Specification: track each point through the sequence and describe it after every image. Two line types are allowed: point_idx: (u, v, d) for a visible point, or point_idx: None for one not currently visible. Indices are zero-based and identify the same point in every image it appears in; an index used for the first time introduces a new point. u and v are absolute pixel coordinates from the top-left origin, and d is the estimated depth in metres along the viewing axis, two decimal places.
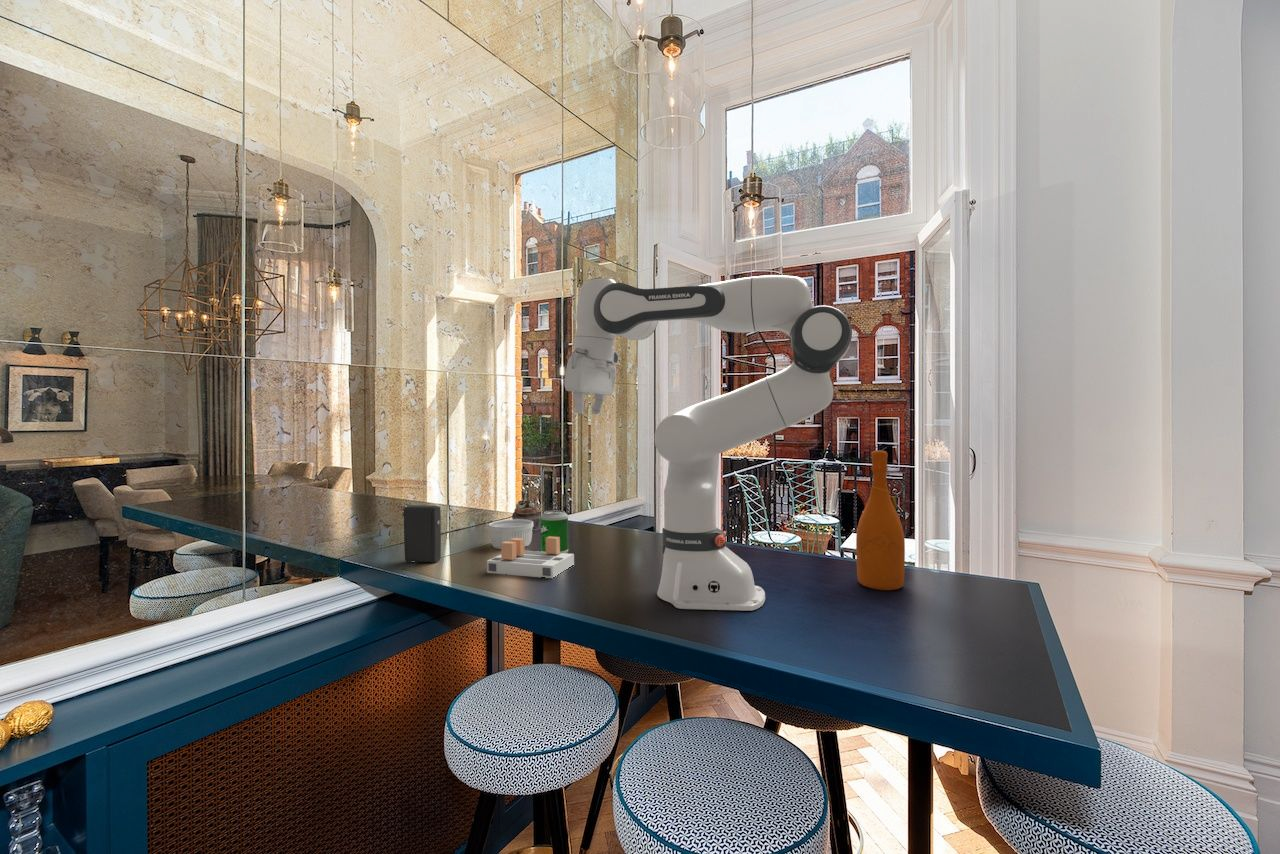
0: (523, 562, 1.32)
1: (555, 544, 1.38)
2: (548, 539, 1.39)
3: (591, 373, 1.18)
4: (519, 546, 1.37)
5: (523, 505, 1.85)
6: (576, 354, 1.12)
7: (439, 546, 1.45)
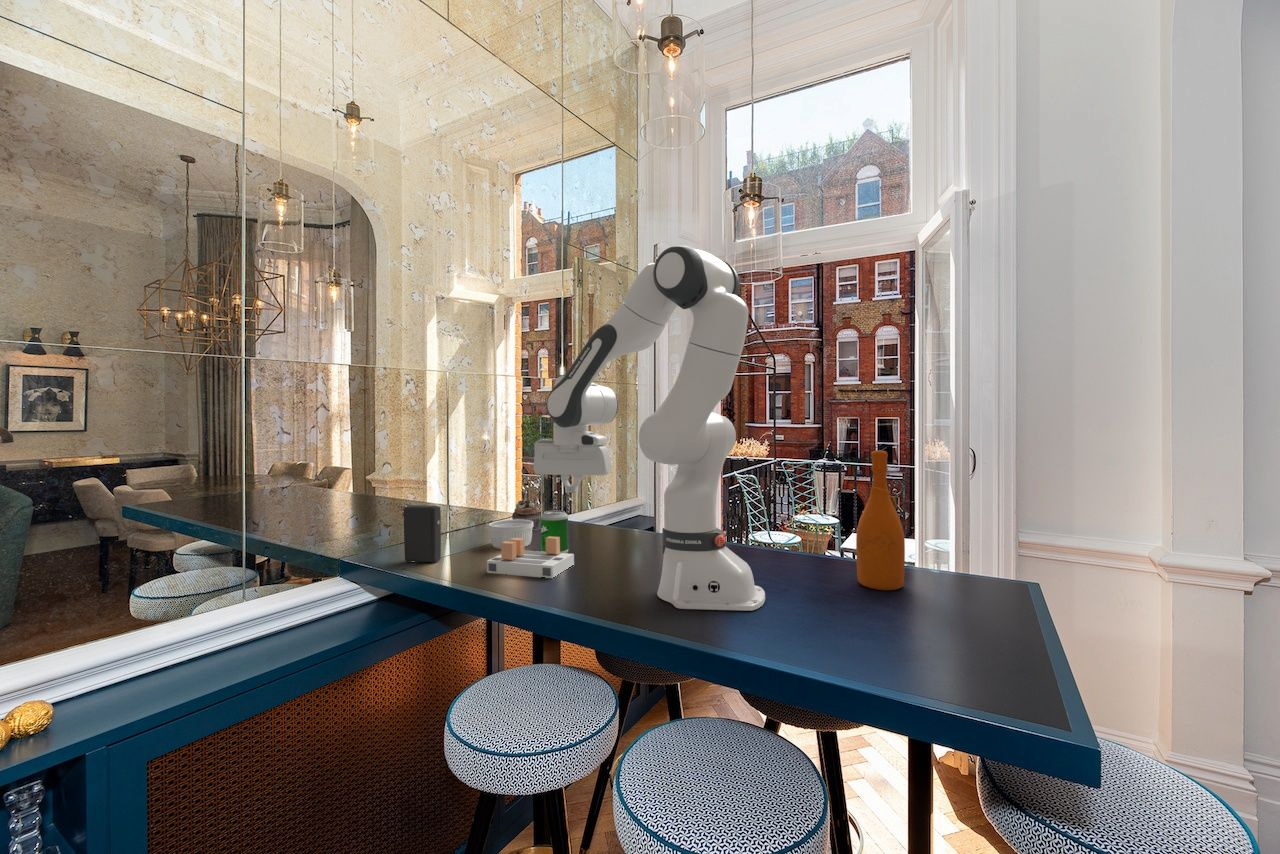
0: (523, 562, 1.32)
1: (555, 544, 1.38)
2: (548, 539, 1.39)
3: (555, 457, 1.37)
4: (519, 546, 1.37)
5: (523, 505, 1.85)
6: (536, 444, 1.40)
7: (439, 546, 1.45)
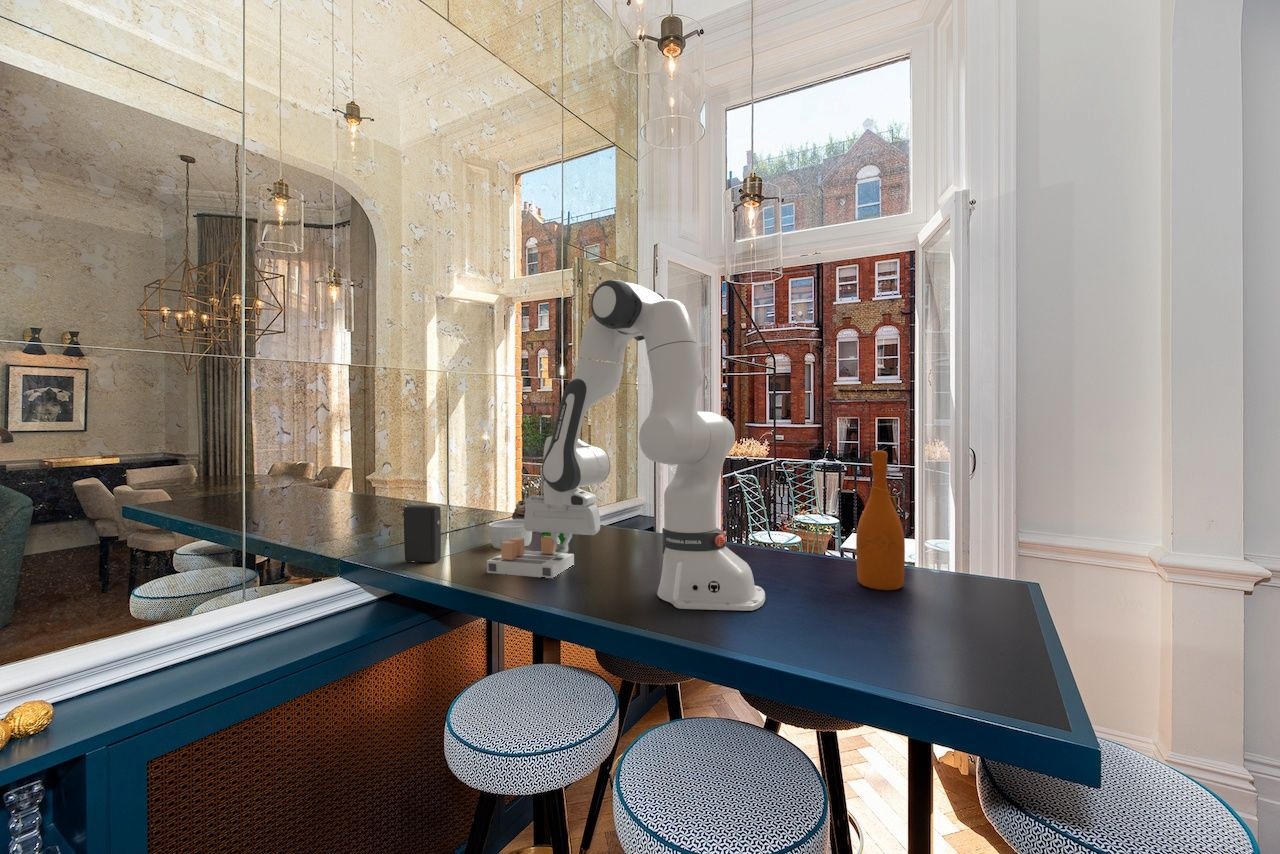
0: (523, 562, 1.32)
1: (550, 544, 1.38)
2: (543, 539, 1.39)
3: (546, 515, 1.38)
4: (519, 546, 1.37)
5: (523, 505, 1.85)
6: (527, 501, 1.41)
7: (439, 546, 1.45)
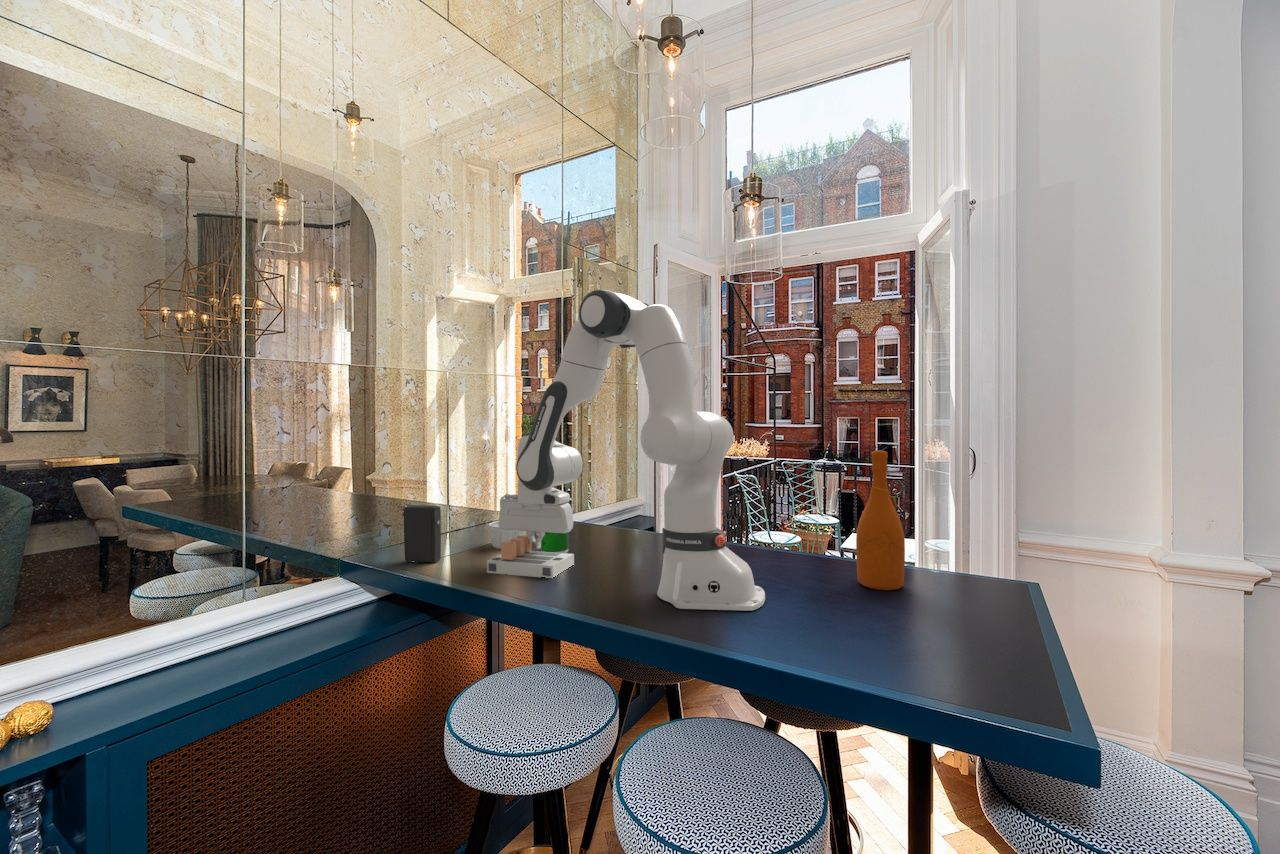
0: (523, 562, 1.32)
1: (526, 542, 1.41)
2: (519, 537, 1.41)
3: (520, 514, 1.41)
4: (519, 546, 1.37)
5: None
6: (502, 500, 1.43)
7: (439, 546, 1.45)
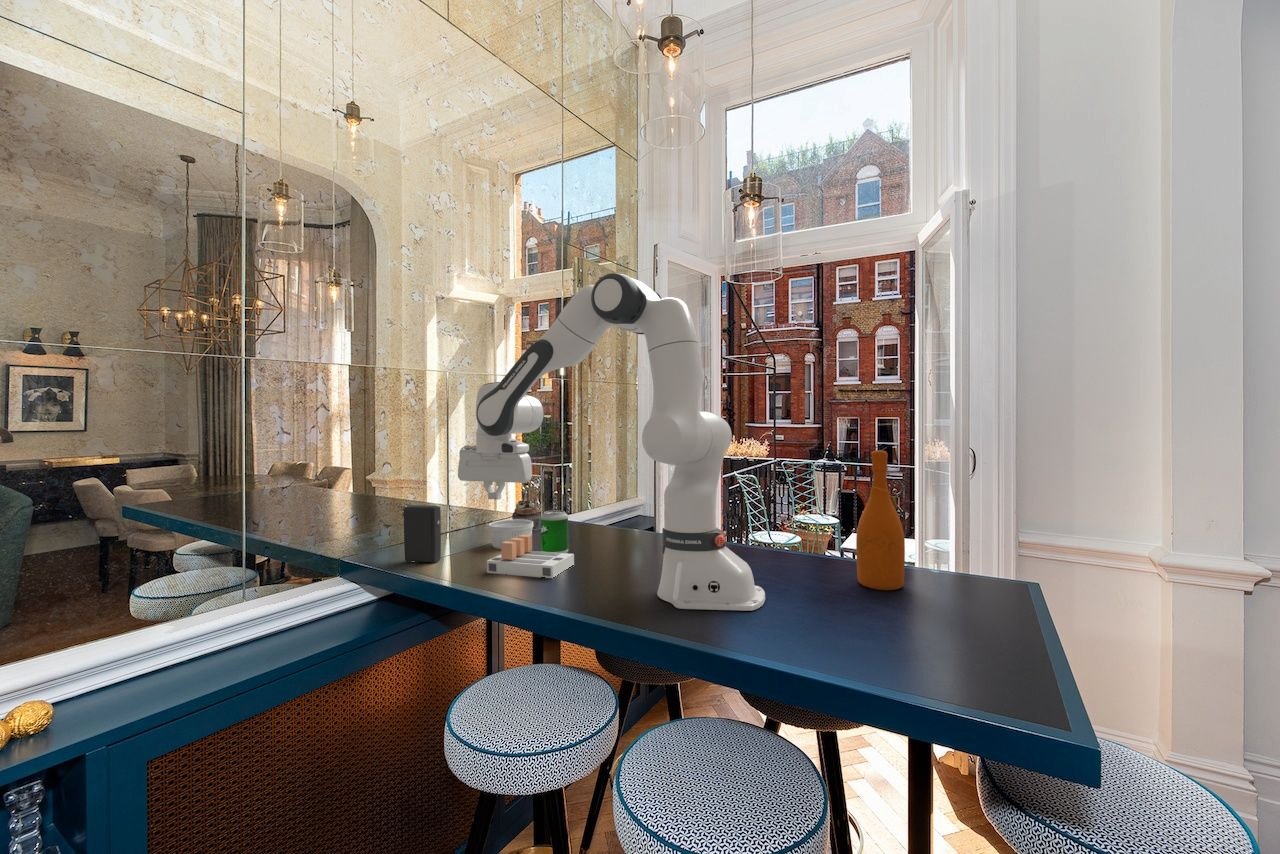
0: (523, 562, 1.32)
1: (527, 542, 1.40)
2: (520, 537, 1.41)
3: (478, 464, 1.40)
4: (519, 546, 1.37)
5: (523, 505, 1.85)
6: (461, 451, 1.42)
7: (439, 546, 1.45)
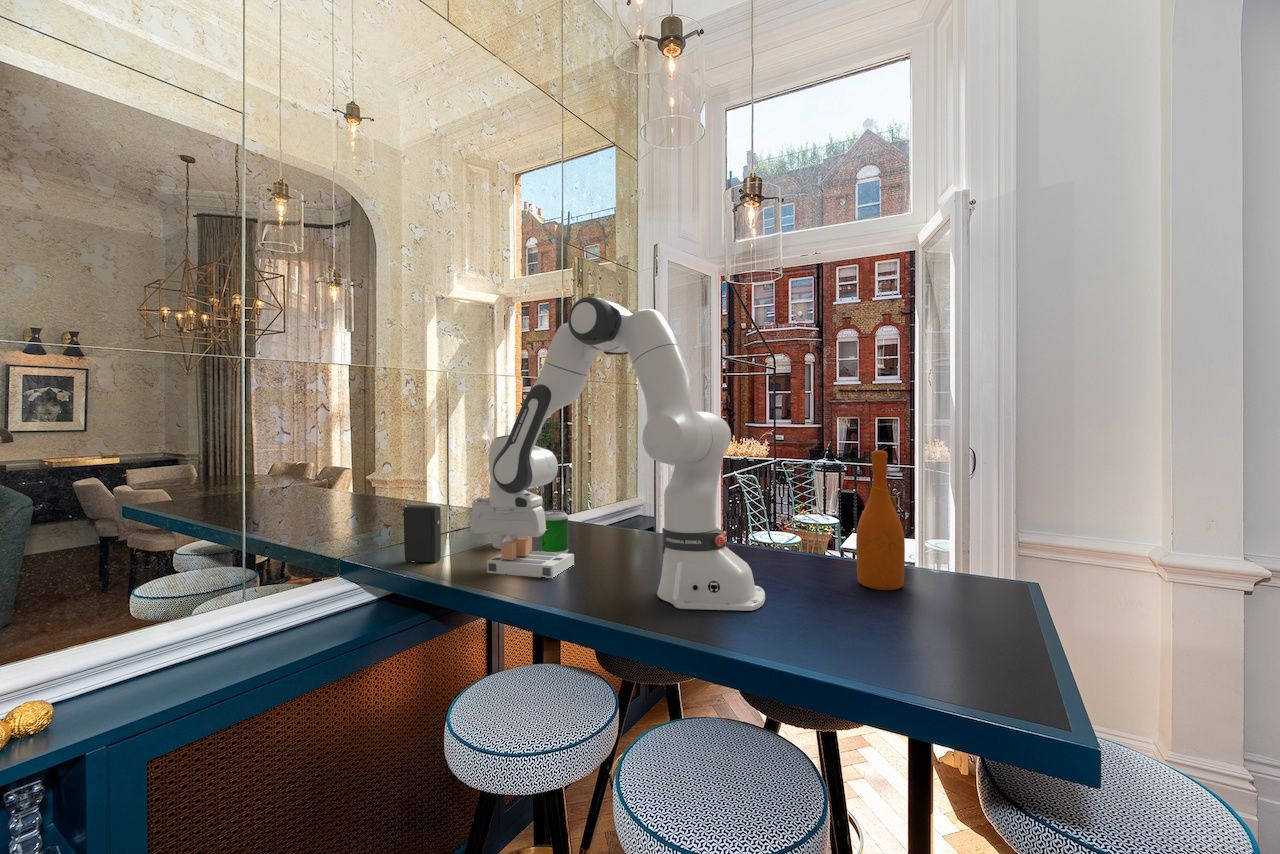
0: (523, 562, 1.32)
1: None
2: (520, 537, 1.41)
3: (492, 518, 1.38)
4: (524, 546, 1.36)
5: None
6: (474, 503, 1.41)
7: (439, 546, 1.45)
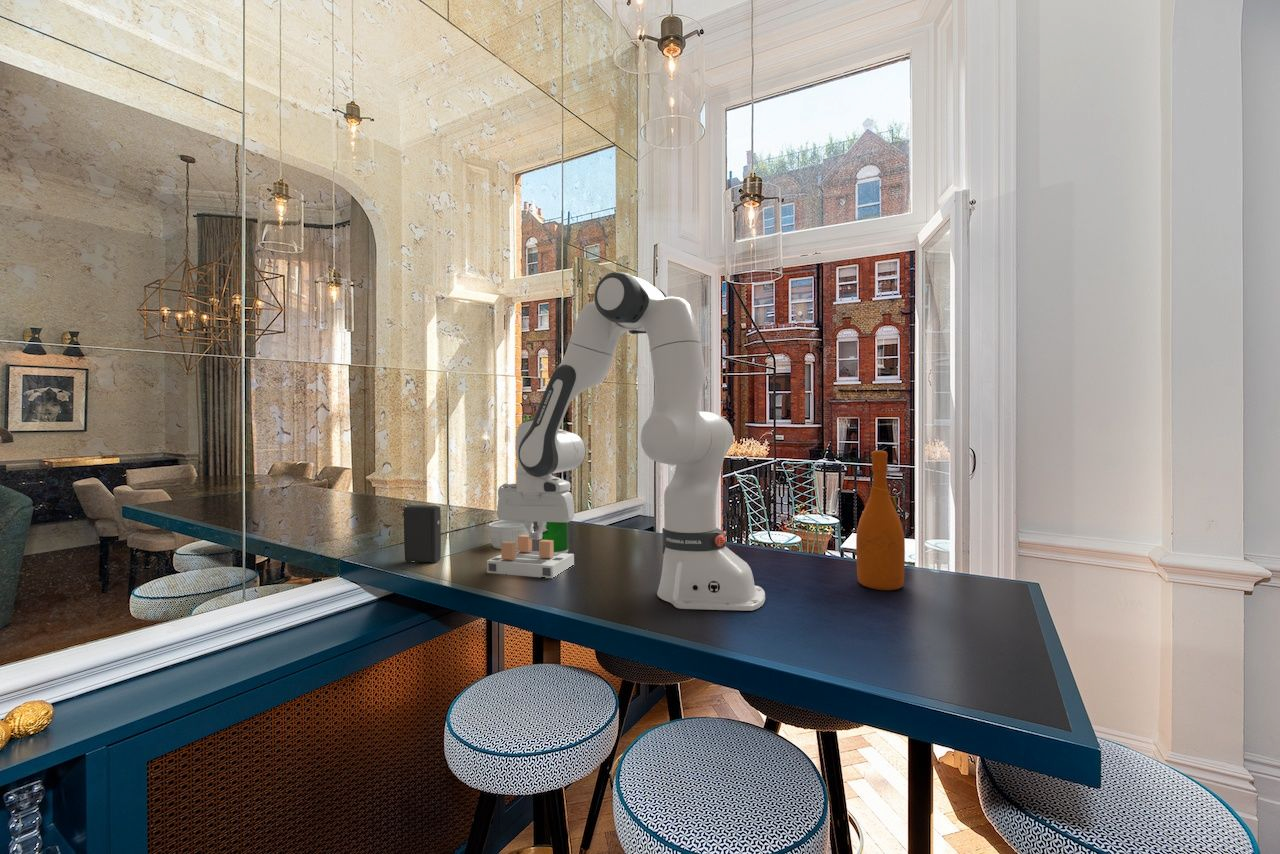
0: (523, 562, 1.32)
1: (527, 542, 1.40)
2: (520, 537, 1.41)
3: (519, 504, 1.36)
4: (548, 548, 1.34)
5: None
6: (500, 489, 1.38)
7: (439, 546, 1.45)
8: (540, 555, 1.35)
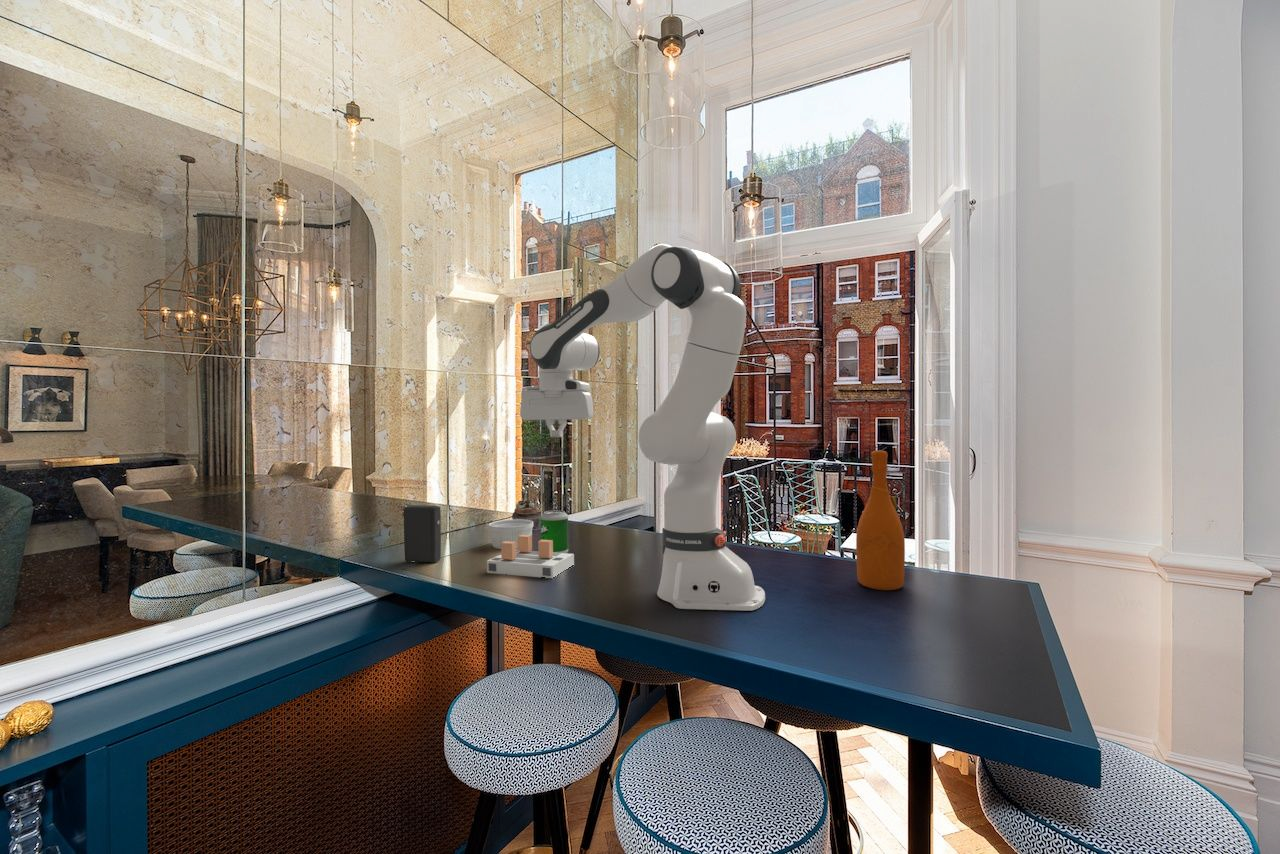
0: (523, 562, 1.32)
1: (527, 542, 1.40)
2: (520, 537, 1.41)
3: (541, 403, 1.44)
4: (548, 548, 1.34)
5: (523, 505, 1.85)
6: (523, 391, 1.47)
7: (439, 546, 1.45)
8: (539, 555, 1.35)
